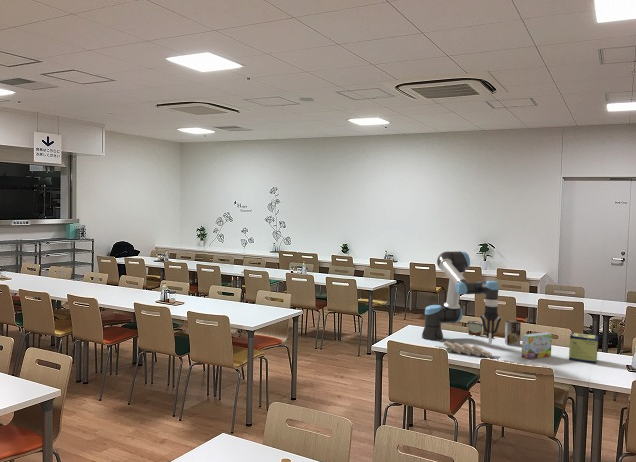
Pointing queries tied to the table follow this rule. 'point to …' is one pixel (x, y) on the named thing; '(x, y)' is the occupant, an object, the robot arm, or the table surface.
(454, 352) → the mat
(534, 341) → the snack box
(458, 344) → the tile
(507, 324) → the coffee box
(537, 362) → the table surface
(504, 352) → the table surface
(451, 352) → the tile
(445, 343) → the tile
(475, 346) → the tile
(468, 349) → the tile
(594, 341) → the protein box
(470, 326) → the food container
